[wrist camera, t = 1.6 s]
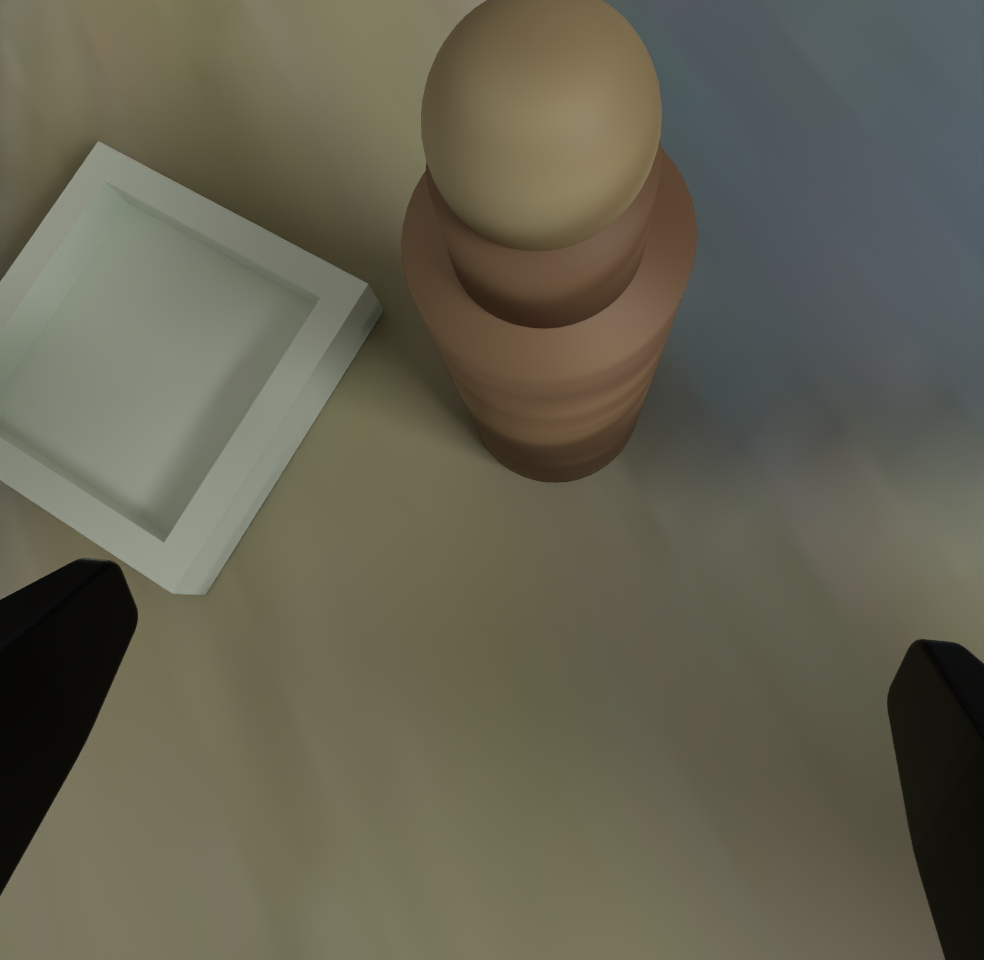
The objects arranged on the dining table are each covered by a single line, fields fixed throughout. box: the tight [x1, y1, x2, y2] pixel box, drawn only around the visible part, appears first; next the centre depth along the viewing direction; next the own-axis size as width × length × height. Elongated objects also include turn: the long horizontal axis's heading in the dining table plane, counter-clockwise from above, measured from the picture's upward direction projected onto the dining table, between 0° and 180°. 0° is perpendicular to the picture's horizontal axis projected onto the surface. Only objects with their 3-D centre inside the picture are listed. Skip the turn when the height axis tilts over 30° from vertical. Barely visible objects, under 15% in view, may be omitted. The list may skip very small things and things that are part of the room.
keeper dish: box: [0, 141, 384, 595], centre depth 22 cm, size 10×10×2 cm
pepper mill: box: [401, 0, 697, 482], centre depth 14 cm, size 5×5×14 cm
